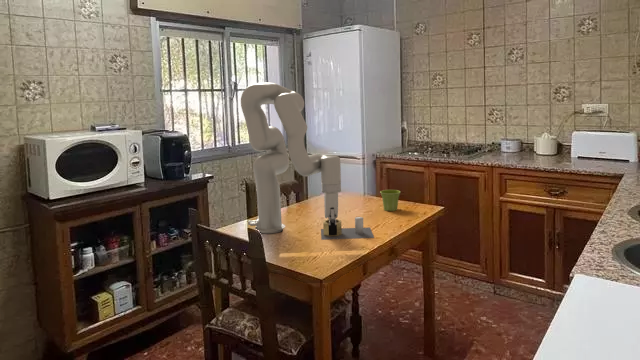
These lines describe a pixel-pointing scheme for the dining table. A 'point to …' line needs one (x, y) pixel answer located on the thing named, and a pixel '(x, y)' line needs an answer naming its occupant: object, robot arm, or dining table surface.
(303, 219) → the dining table surface
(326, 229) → the brass ring
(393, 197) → the plant pot
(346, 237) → the piston stand
